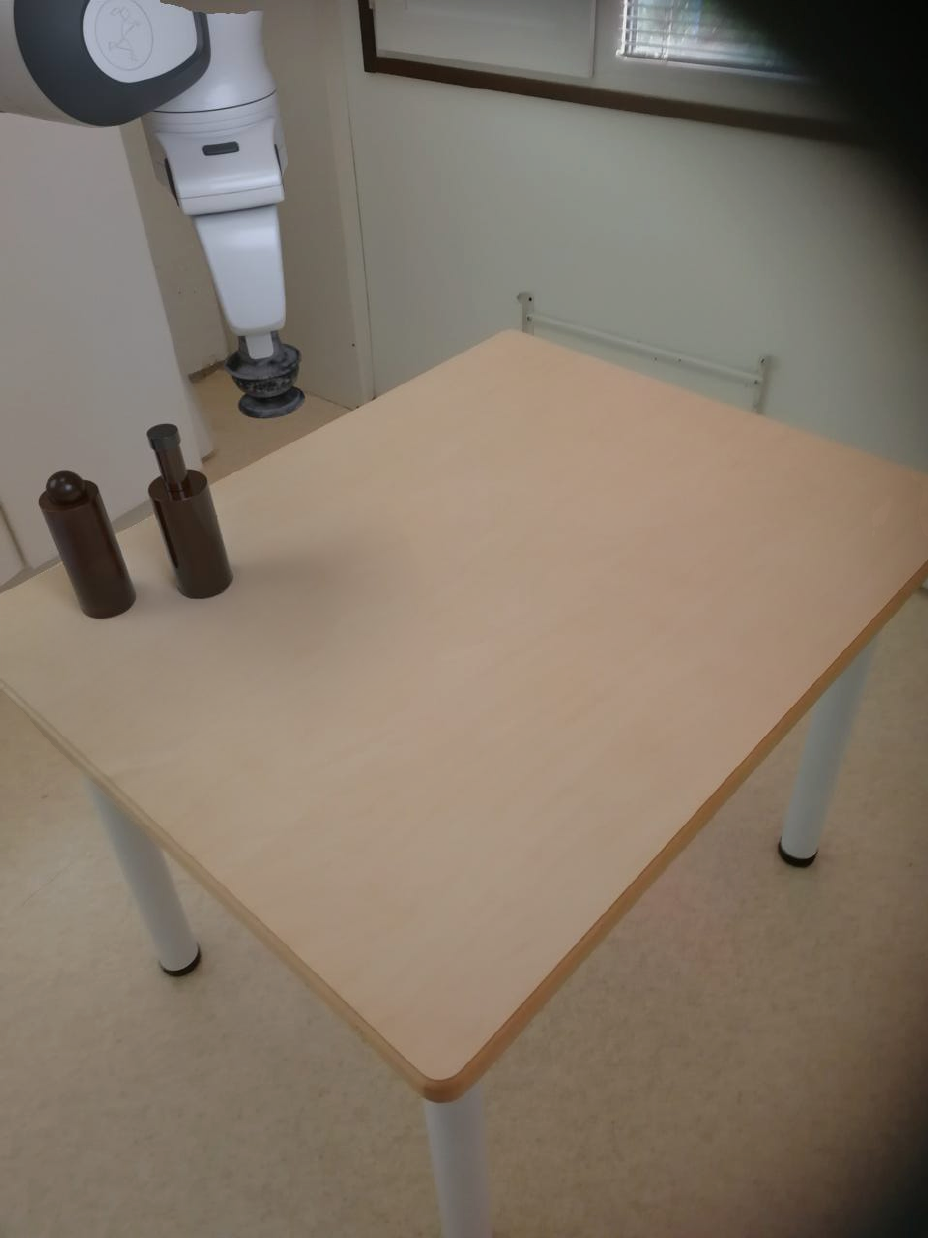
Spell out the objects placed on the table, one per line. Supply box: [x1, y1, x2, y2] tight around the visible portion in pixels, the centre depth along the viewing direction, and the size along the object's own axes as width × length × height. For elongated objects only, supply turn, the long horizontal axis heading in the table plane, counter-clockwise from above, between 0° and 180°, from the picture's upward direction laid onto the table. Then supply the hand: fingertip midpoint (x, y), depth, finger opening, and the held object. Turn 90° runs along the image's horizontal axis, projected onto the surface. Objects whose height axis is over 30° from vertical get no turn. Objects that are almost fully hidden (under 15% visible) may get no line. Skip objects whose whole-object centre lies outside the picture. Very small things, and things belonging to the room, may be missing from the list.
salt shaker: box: [224, 330, 306, 420], centre depth 71 cm, size 6×6×12 cm
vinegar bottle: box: [145, 423, 234, 600], centre depth 86 cm, size 5×5×16 cm
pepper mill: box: [38, 469, 137, 620], centre depth 85 cm, size 5×5×14 cm
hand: (258, 341), depth 72 cm, fingers closed on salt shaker, 3 cm apart
